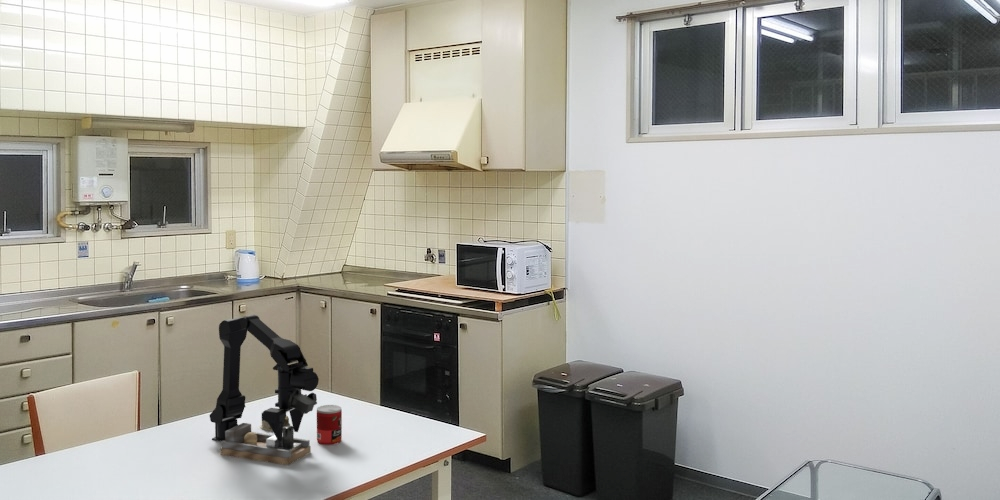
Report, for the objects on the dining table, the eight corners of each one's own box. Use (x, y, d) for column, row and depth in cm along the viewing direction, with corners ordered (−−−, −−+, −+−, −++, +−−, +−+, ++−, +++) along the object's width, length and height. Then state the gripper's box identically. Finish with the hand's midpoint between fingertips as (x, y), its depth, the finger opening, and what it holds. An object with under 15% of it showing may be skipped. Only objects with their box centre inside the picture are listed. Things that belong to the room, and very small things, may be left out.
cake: (296, 428, 272) (296, 413, 271) (270, 435, 264) (270, 420, 263) (279, 420, 278) (279, 405, 277) (253, 426, 271) (254, 411, 270)
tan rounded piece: (241, 446, 245) (241, 433, 245) (249, 442, 249) (249, 429, 249) (252, 447, 244) (252, 435, 243) (260, 443, 248) (260, 431, 247)
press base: (220, 454, 243) (220, 432, 242) (245, 442, 254) (245, 421, 254) (288, 465, 235) (288, 442, 235) (310, 452, 247) (310, 430, 246)
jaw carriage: (266, 452, 240) (266, 429, 239) (281, 443, 247) (281, 421, 247) (286, 455, 238) (286, 432, 237) (301, 446, 245) (301, 424, 244)
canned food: (336, 446, 252) (336, 412, 251) (312, 444, 254) (312, 410, 253) (345, 438, 260) (345, 405, 259) (322, 436, 261) (322, 403, 260)
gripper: (293, 396, 229) (293, 449, 230) (327, 381, 246) (327, 430, 248) (260, 392, 232) (260, 444, 234) (296, 377, 250) (296, 425, 251)
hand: (288, 436), depth 242 cm, fingers open, 8 cm apart
